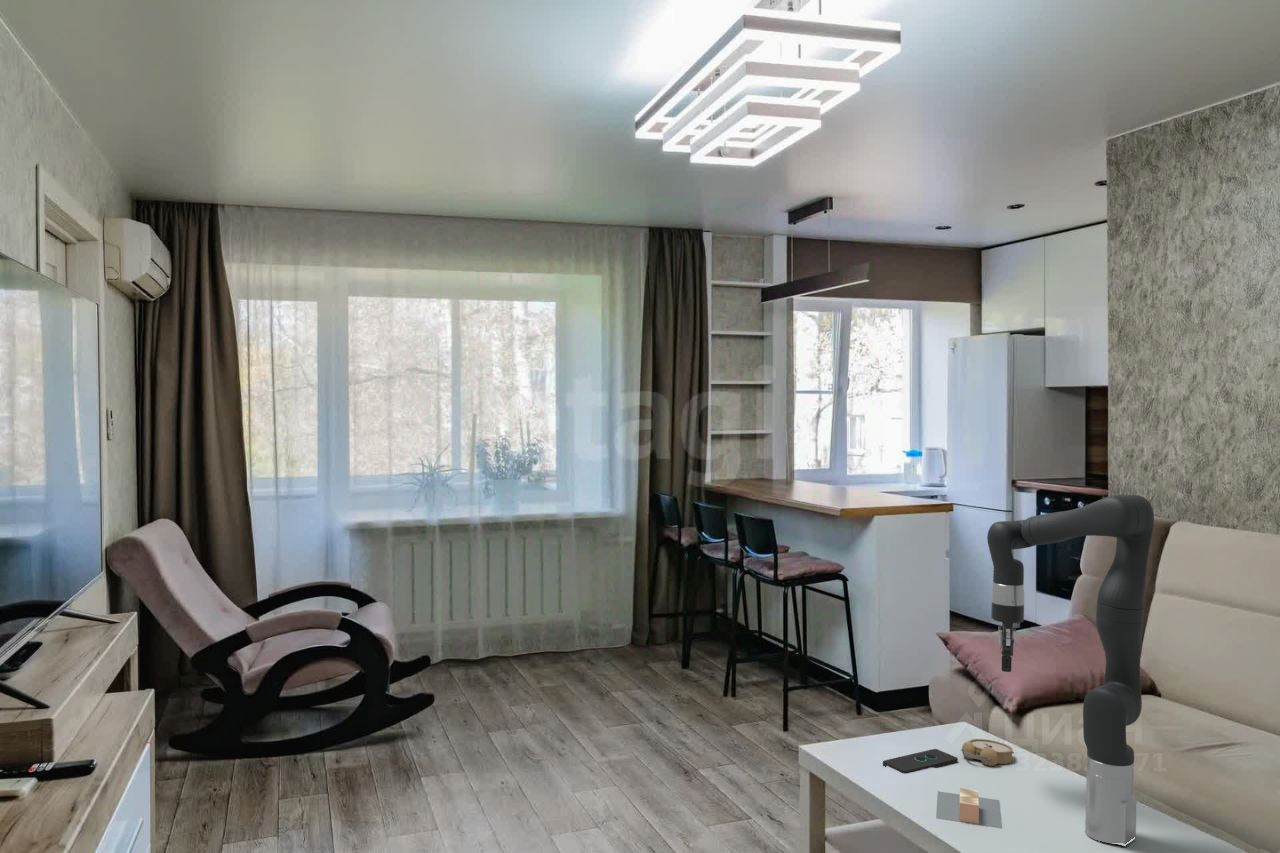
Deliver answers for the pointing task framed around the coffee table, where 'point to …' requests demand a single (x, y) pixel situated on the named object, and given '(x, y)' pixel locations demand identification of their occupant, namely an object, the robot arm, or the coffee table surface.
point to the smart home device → (920, 761)
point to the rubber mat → (951, 804)
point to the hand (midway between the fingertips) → (1006, 670)
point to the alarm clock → (987, 751)
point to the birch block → (969, 806)
